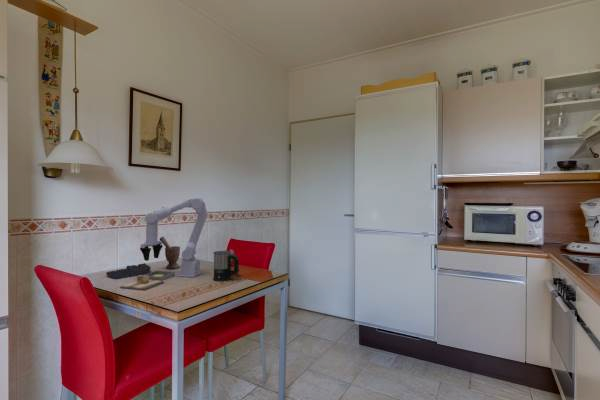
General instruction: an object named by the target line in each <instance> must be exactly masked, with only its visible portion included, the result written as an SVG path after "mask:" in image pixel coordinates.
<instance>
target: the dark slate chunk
mask: <svg viewBox="0 0 600 400" xmlns="http://www.w3.org/2000/svg"><path fill="white" fill-rule="evenodd" d="M150 272H151V266H150V265H148V264H146V263H139V264H137V265H136V264H132V265H126V268H120V269H117V270H111V271H106V274H105V275H107V276H108V277H111V278H112V279H114V280H121V279H122V278H123V279H127V278H128V277H129V278H134V277H137V276H139V275H144V274H147V273H150Z"/></svg>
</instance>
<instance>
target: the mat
mask: <svg viewBox="0 0 600 400" xmlns="http://www.w3.org/2000/svg"><path fill="white" fill-rule="evenodd" d="M163 284H165V281H163V282H162V283H159V284H157V285H154V286H151V287H149V288H146V289H138V288H128V287H121V286H120V287H119V289H125V290H134V291H147V290H150V289H152V288H155V287H158V286H160V285H163Z"/></svg>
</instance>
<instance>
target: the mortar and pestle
mask: <svg viewBox="0 0 600 400" xmlns="http://www.w3.org/2000/svg"><path fill="white" fill-rule="evenodd" d="M159 241H162V245H163V246H164V256H165V259H166V261H167V262H168V264H167V265H166V267H165V268H166V269H167V270H177V269H179V268H180V265H179V264H178V263H177V262H178V260H179V257H180V254H181V246H177V245H174V246H173V245H171V246H170V245H169V243H168V241H167V240H166V238H165V237H164V236H161V237H159Z"/></svg>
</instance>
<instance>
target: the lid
mask: <svg viewBox="0 0 600 400" xmlns="http://www.w3.org/2000/svg"><path fill="white" fill-rule="evenodd" d="M162 282H164V280H163V281H158V280H149V276H146V275H139V276H136V280H134V281H131V282H128V283H125V284H122V285H121V286H120V287H128V288H138V289H146V288H149V287H151V286H154V285H157V284H159V283H162Z"/></svg>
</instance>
